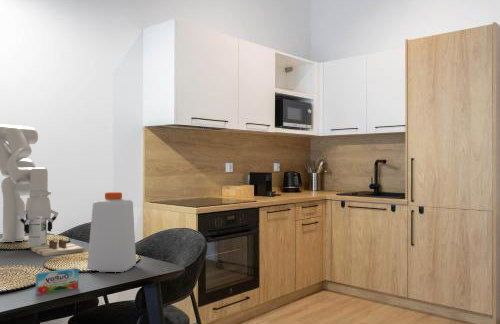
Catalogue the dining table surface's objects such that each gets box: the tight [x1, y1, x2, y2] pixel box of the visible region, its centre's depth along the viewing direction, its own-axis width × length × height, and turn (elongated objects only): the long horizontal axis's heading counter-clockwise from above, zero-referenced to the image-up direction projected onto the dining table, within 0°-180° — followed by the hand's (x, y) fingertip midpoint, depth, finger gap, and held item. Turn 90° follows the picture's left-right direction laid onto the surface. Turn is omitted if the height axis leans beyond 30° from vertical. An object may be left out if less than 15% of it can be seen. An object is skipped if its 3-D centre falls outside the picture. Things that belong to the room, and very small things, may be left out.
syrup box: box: [28, 216, 48, 248], centre depth 205 cm, size 6×6×14 cm
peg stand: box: [30, 238, 85, 257], centre depth 196 cm, size 17×17×4 cm
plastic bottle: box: [86, 191, 137, 274], centre depth 165 cm, size 15×15×28 cm
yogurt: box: [35, 267, 80, 296], centre depth 134 cm, size 12×2×6 cm, turn 132°
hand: (38, 232), depth 205 cm, fingers open, 9 cm apart
